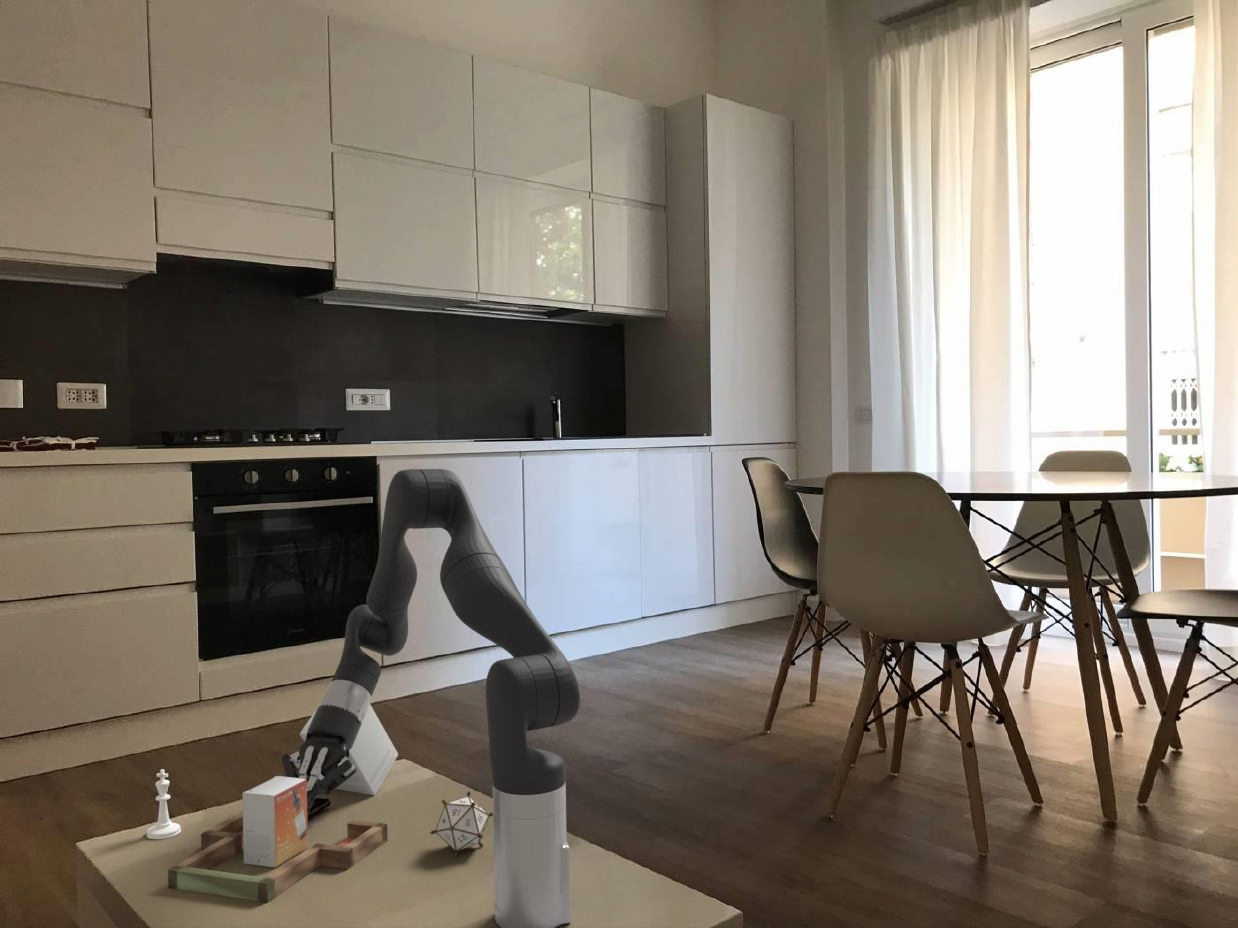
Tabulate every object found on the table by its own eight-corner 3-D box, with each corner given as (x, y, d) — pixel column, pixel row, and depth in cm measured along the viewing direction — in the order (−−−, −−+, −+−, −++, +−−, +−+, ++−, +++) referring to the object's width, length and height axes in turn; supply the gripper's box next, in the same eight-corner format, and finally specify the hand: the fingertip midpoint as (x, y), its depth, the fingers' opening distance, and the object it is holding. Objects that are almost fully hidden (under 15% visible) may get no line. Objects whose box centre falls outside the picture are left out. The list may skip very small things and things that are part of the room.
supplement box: (400, 753, 182) (369, 697, 174) (375, 796, 176) (341, 740, 167) (358, 747, 186) (326, 692, 177) (332, 788, 180) (297, 733, 171)
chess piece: (169, 840, 158) (167, 775, 157) (139, 838, 158) (137, 774, 158) (187, 827, 163) (185, 765, 162) (158, 826, 163) (157, 764, 163)
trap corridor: (248, 823, 164) (248, 807, 164) (387, 839, 157) (387, 823, 156) (141, 883, 142) (141, 865, 142) (297, 906, 135) (296, 887, 135)
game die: (451, 877, 152) (409, 829, 150) (471, 837, 159) (431, 791, 157) (495, 857, 148) (452, 807, 146) (513, 816, 156) (472, 769, 154)
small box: (275, 869, 146) (273, 795, 146) (242, 864, 148) (240, 792, 148) (309, 847, 154) (308, 778, 154) (278, 843, 156) (276, 774, 156)
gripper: (294, 700, 166) (247, 801, 155) (366, 706, 162) (322, 810, 151) (314, 723, 171) (270, 823, 160) (384, 729, 167) (344, 832, 156)
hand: (295, 817), depth 155 cm, fingers closed
